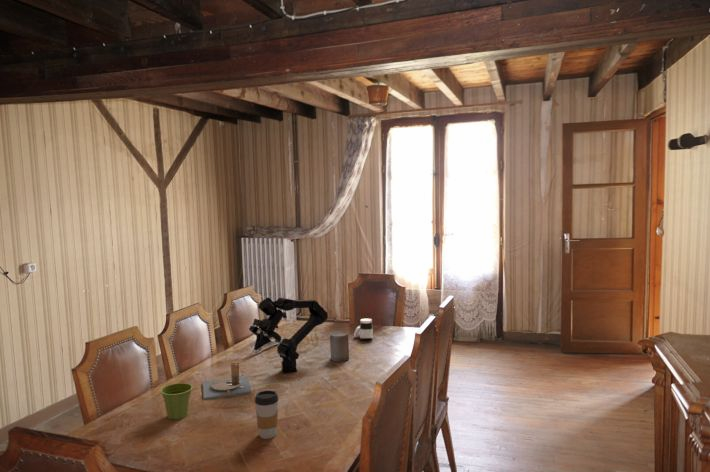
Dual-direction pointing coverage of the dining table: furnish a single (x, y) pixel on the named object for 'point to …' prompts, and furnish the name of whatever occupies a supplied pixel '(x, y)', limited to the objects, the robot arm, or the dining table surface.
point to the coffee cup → (267, 413)
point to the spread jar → (364, 330)
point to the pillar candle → (339, 346)
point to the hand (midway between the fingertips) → (255, 349)
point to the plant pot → (176, 399)
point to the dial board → (213, 394)
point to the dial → (228, 380)
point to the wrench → (263, 345)
